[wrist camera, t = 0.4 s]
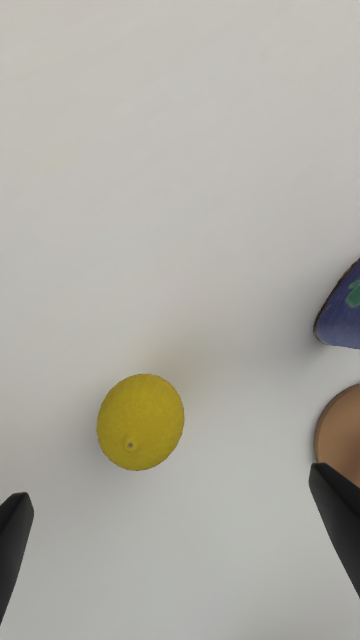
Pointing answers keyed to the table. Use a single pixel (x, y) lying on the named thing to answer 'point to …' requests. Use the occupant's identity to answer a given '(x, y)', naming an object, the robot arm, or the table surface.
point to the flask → (341, 312)
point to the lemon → (140, 422)
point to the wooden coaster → (341, 434)
